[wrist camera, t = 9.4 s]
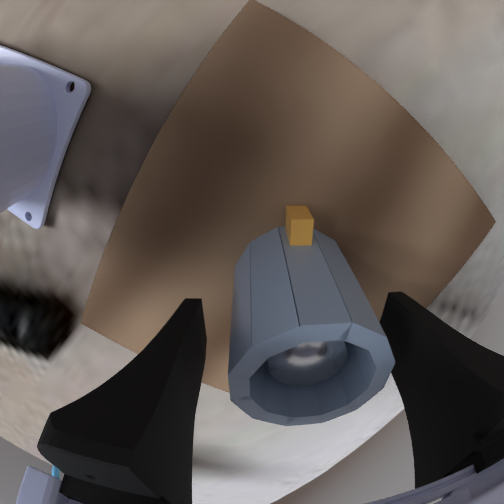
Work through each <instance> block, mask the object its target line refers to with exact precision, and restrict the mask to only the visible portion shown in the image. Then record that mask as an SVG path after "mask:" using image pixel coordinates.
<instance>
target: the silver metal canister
mask: <svg viewBox="0 0 504 504" xmlns="http://www.w3.org/2000/svg"><path fill="white" fill-rule="evenodd" d="M346 360H347V349H346V346H345V343H344V341H343V340H337V341H324V342H308V343H302V344H300V345H298V346H295V347H293V348H291V349H288V350H286V351H283V352H281V353H279V354H276V355H274V356H271V357H269V358H268V369H269V372H270V374H271V375H272V376H273V377H274V378H275V379H276V380H277V381H279V382H281V383H284V384H287V385H292V386H308V385H314V384H317V383H320V382H323V381H325V380H327V379H329V378H331V377H332V376H334V375H335V374H337V373H338V372H339V371H340V370H341V368H342V367H343V366H344V364H345V362H346Z"/></svg>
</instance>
